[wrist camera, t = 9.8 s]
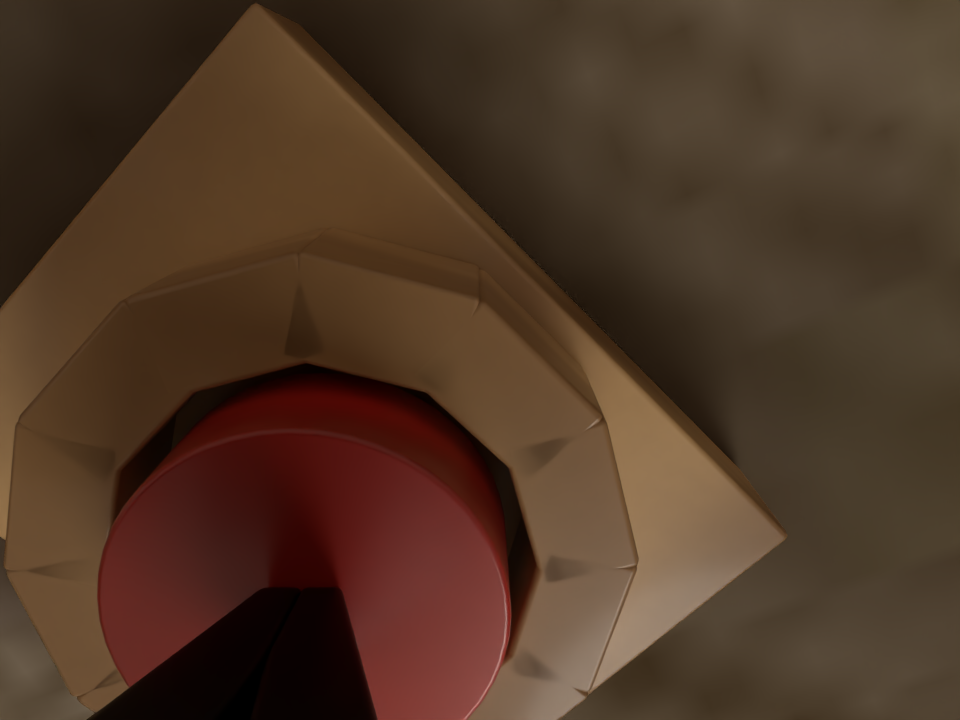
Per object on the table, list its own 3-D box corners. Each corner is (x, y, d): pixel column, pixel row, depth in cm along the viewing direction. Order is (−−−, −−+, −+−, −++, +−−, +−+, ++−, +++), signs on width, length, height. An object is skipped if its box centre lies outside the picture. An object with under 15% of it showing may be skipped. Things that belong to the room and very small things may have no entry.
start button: (576, 532, 10) (597, 618, 8) (347, 728, 11) (323, 841, 9) (317, 296, 9) (279, 338, 7) (90, 534, 10) (10, 621, 8)
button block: (740, 469, 13) (850, 617, 9) (419, 734, 15) (400, 951, 11) (296, 20, 11) (199, -29, 7) (-22, 395, 12) (-239, 518, 9)
